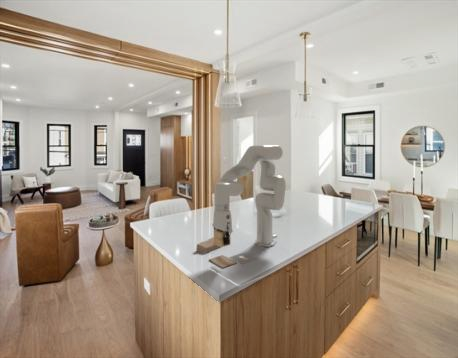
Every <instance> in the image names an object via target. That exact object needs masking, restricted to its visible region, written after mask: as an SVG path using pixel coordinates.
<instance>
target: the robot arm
mask: <svg viewBox="0 0 458 358" xmlns="http://www.w3.org/2000/svg"><path fill="white" fill-rule="evenodd" d="M283 151H284V150H283V148H282V147H281V146H280V145H277V144H274V145H273V144H271V145H270V144H269V145H268V144H267V145H266V144H264V145H263V144H261V145H256V144H255V145H250V146H248V148H247V149H246V151H245V152H244V154H243V155H242V156H241V158H240V160H239V161H238V163H237V164H236V165H234V166H233V167H231V168H229V169H228V170H227V171H225V172H224V173H223V175H222V176H221V178H220V180H219V181H218V182H215V184H214V188H213V191H214V195H213V197H214V199H213V201H214V206H213V207H214V211H213V218H212V219H213V223H212V227H213V231H214V230H218V229H219V230H221V231H223V233H224V237H223V244H224V245H226V244H229V236H230V237H231V234H232V233H233V232H234V230H233V219H232V213H231V210H230V197H239V196H241V195H242V194H243V192H244V186H243V184H242V182H240V181H235V180H236V179H239V178H241V177H244V176H247V175H249V174H251V173H252V172H253V170H254V168H255V166H256V165H257V163H258V162H259V164H260V175H259V176H260V177H259V188H260V189H261V191H262V190H263V191H267V192H260V193H257V194H256V196H255V198H254V203H255V208H256V239H255V240H254V241H253V244H255V245H256V246H259V247H265V248H269V247H273V246H275V244H276V242H275V240H274V239H276V238H278V235H277V234H273V212H272V211H280V210H282V209H283V207H284V204H285V196H286V187H287V186H286V180H285V177H283V176H281V175H276V166H275V162H274V161H279V160H280V159H281V158H282V156H283ZM268 191H269V192H268ZM270 192H273V193H270ZM226 231H227V233H226Z"/></svg>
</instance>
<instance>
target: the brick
mask: <svg viewBox="0 0 458 358" xmlns="http://www.w3.org/2000/svg"><path fill="white" fill-rule="evenodd" d="M220 248H221V247H219V246H217V245H215V244H214V236H213V237H211V238H209V239H207V240H205V241H201V242H200V243H197V244H196V249H195V250H196V252H197V253H201V254H203V253H204V254H207V253H210V252H212V251H214V250H216V249H220Z"/></svg>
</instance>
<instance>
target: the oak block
mask: <svg viewBox="0 0 458 358" xmlns="http://www.w3.org/2000/svg"><path fill="white" fill-rule="evenodd" d="M226 233H227V231H226ZM213 237H214V244H215V245H217V246H219V247H220V248H223V247H227V246H230V245H231V235H230V236H229V244H226V245H224V244H223V237H224V233H223V231H221V230H219V229H218V230H214V229H213Z"/></svg>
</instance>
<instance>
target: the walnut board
mask: <svg viewBox="0 0 458 358" xmlns="http://www.w3.org/2000/svg"><path fill="white" fill-rule="evenodd" d="M208 261H209V262H211V263H213V264H214V265H216V266H217V267H220V268H221V269H227V268H228V267H231V266H234V265H236V264H238V262H237V261H235V260H233V259H231V258H229V256H226V255H223V254H221V255H219V256H216V257H215V256H214V257H213V258H209V259H208Z"/></svg>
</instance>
